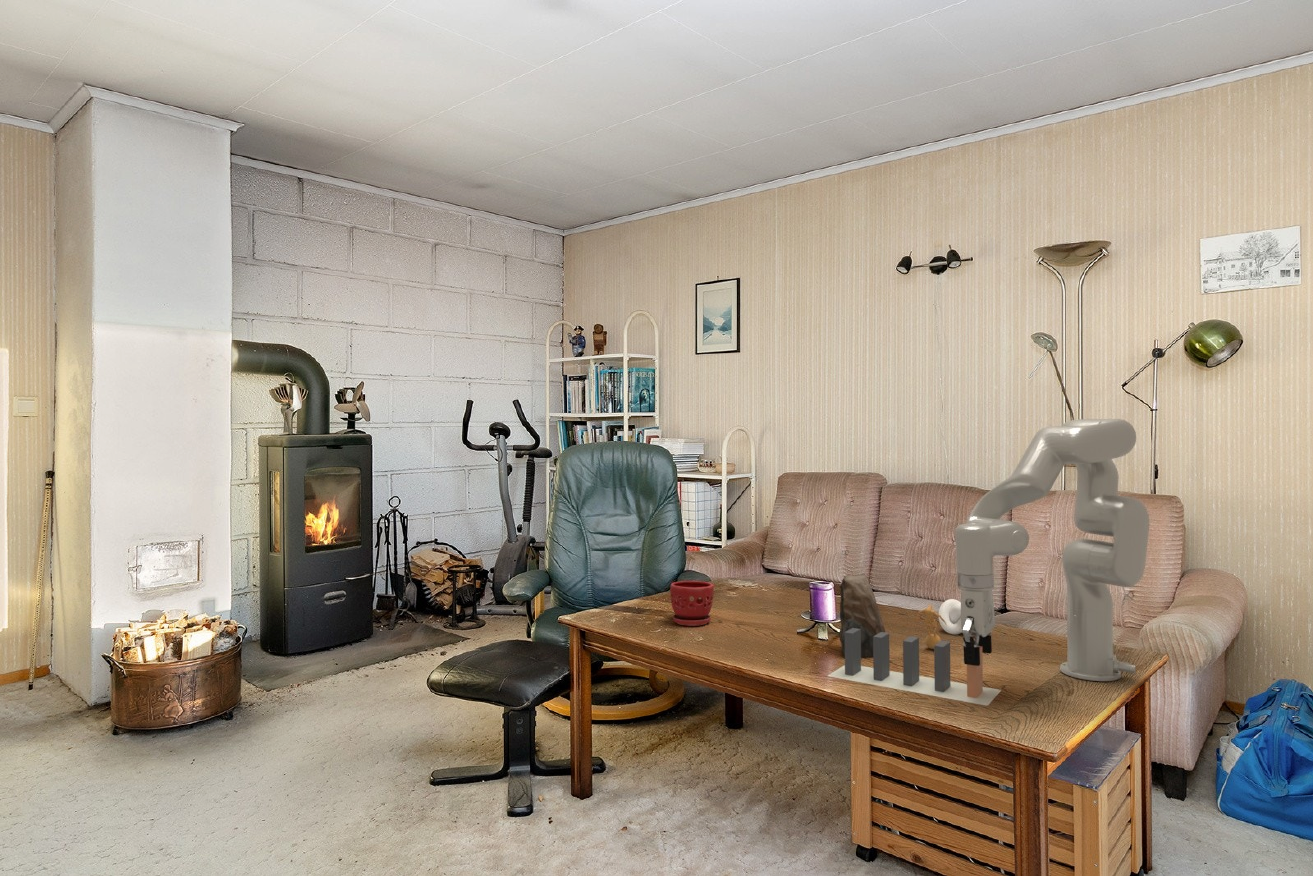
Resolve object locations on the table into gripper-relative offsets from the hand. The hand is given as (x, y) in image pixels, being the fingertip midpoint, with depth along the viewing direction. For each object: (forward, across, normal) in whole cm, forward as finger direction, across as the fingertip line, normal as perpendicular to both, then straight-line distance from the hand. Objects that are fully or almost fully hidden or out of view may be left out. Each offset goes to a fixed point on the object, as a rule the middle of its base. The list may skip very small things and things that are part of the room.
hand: (978, 658), depth 175 cm
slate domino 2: (+7, -1, +22) cm, 23 cm away
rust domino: (+8, -1, +1) cm, 8 cm away
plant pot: (+7, +20, +89) cm, 91 cm away
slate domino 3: (+7, -1, +15) cm, 16 cm away
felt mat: (+8, -1, +15) cm, 17 cm away
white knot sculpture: (+10, +52, +19) cm, 56 cm away
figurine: (+9, +30, +20) cm, 37 cm away
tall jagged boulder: (+8, +16, +33) cm, 37 cm away
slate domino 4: (+7, -1, +8) cm, 11 cm away
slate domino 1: (+7, -1, +29) cm, 29 cm away
